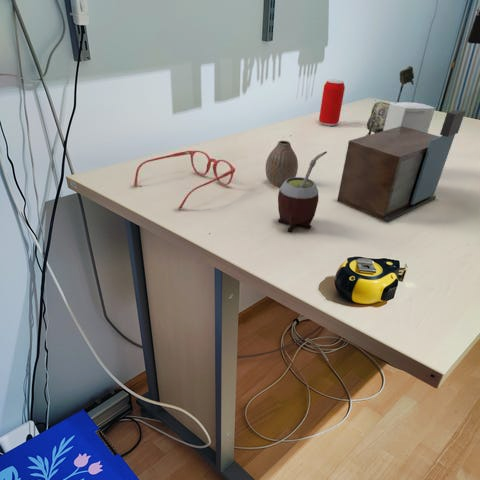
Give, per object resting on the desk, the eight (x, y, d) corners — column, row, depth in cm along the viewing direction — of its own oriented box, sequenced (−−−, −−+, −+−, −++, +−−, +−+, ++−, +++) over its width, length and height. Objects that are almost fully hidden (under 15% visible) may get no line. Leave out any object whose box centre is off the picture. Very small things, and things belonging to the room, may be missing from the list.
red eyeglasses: (242, 190, 89) (243, 167, 86) (183, 212, 80) (181, 186, 77) (189, 167, 98) (188, 145, 95) (130, 184, 89) (127, 160, 86)
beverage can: (338, 122, 134) (346, 79, 126) (337, 127, 129) (345, 83, 121) (319, 120, 135) (325, 77, 127) (317, 125, 130) (324, 81, 122)
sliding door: (436, 195, 88) (466, 111, 78) (414, 205, 84) (443, 117, 73) (429, 192, 89) (458, 109, 79) (407, 203, 85) (434, 115, 74)
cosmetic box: (386, 177, 98) (405, 108, 89) (372, 168, 102) (388, 101, 93) (416, 174, 100) (437, 106, 91) (400, 166, 105) (419, 100, 95)
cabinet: (435, 199, 90) (455, 140, 82) (387, 222, 80) (405, 158, 72) (386, 181, 96) (401, 125, 89) (336, 201, 87) (348, 140, 79)
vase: (287, 192, 89) (292, 149, 84) (258, 185, 92) (261, 143, 86) (300, 182, 94) (306, 141, 88) (272, 175, 96) (276, 135, 91)
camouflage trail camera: (359, 146, 116) (377, 61, 103) (402, 151, 114) (425, 66, 101) (357, 155, 110) (376, 66, 97) (402, 161, 108) (427, 71, 95)
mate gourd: (282, 213, 81) (291, 131, 72) (322, 222, 79) (337, 138, 70) (269, 229, 76) (277, 143, 66) (311, 239, 74) (326, 151, 64)
